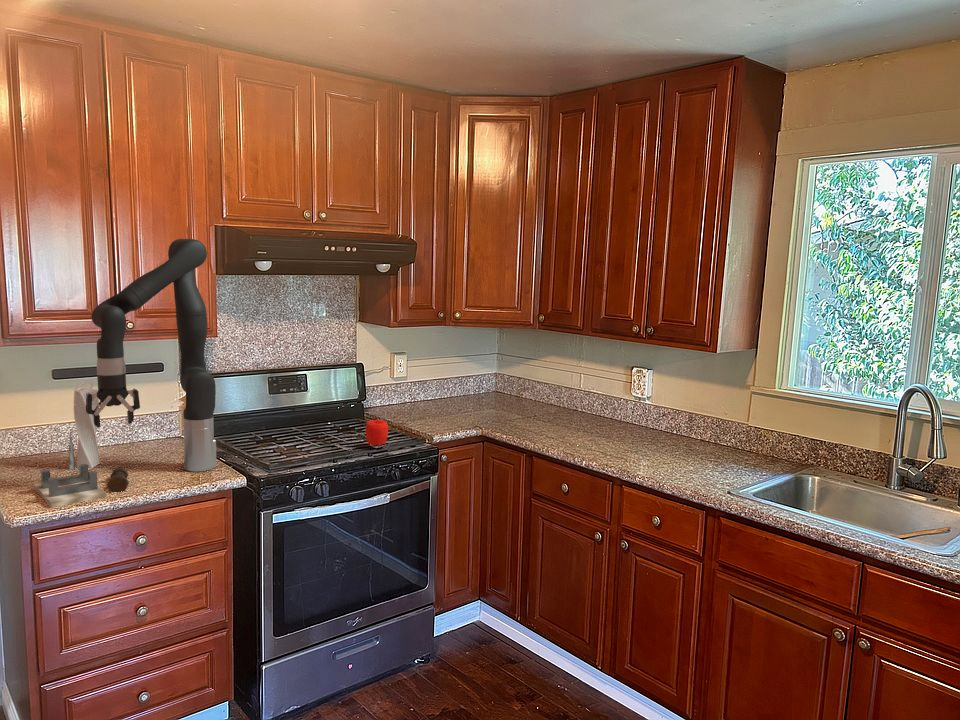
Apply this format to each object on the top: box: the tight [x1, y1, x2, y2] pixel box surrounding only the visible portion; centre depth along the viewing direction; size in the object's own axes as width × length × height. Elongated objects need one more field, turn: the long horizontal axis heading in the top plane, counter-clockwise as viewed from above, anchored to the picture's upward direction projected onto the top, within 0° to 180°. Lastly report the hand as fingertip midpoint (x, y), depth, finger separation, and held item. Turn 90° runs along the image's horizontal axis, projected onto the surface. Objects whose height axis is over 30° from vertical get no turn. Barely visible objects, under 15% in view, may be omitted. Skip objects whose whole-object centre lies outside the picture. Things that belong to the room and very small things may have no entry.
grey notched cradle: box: [40, 464, 99, 497], centre depth 205 cm, size 12×11×5 cm
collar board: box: [33, 482, 107, 508], centre depth 205 cm, size 14×20×2 cm
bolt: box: [106, 467, 130, 493], centre depth 214 cm, size 6×5×15 cm
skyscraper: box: [67, 381, 101, 471], centre depth 229 cm, size 8×8×28 cm
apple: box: [364, 419, 389, 445], centre depth 268 cm, size 9×9×11 cm
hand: (114, 425), depth 211 cm, fingers open, 8 cm apart
